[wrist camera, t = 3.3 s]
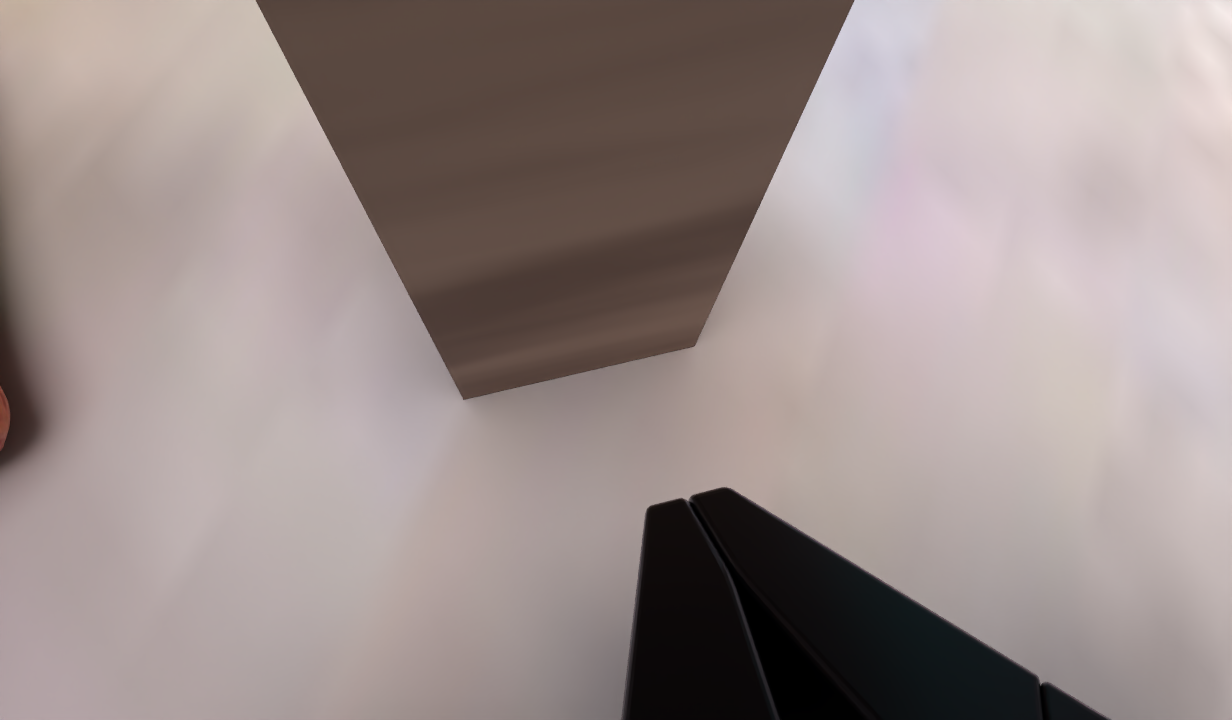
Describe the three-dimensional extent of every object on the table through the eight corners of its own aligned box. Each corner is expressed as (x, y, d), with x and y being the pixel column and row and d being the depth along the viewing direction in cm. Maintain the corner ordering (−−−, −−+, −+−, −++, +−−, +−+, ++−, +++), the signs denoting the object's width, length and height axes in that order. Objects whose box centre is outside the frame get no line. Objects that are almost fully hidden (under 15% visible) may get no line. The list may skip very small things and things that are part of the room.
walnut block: (694, 346, 17) (1113, -554, 4) (463, 399, 17) (19, -452, 3) (635, 146, 19) (793, -1027, 5) (419, 189, 18) (-20, -1015, 5)
